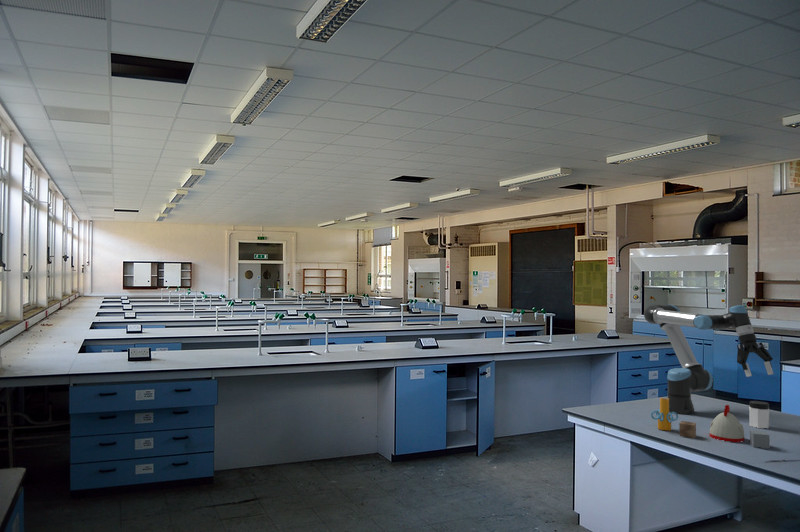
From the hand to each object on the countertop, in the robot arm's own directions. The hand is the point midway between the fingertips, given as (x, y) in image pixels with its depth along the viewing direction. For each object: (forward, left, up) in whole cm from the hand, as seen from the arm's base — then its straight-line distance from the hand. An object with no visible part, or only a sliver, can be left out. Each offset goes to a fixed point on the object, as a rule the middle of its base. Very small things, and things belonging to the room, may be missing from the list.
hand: (760, 375), depth 277 cm
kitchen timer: (-11, -37, -26) cm, 46 cm away
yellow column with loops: (-37, -39, -26) cm, 60 cm away
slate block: (+2, -43, -25) cm, 50 cm away
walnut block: (-26, -45, -25) cm, 58 cm away
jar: (0, -2, -26) cm, 26 cm away
